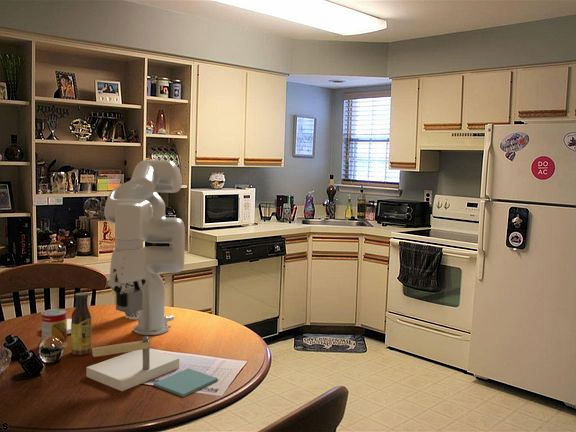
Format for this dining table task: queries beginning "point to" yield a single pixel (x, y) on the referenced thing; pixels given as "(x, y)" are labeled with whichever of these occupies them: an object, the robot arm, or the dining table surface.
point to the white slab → (132, 368)
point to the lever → (121, 347)
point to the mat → (185, 382)
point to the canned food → (55, 324)
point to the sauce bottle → (81, 326)
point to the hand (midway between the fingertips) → (129, 303)
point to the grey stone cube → (131, 301)
